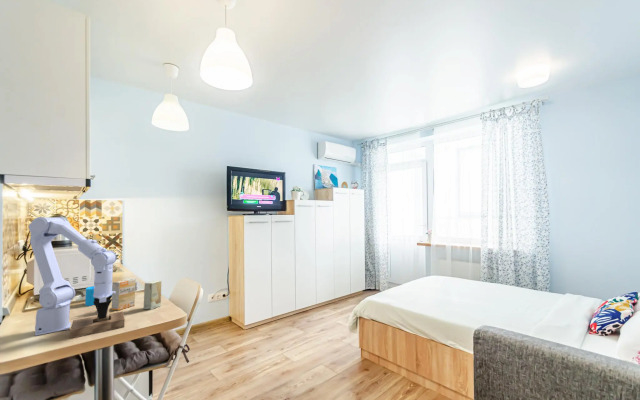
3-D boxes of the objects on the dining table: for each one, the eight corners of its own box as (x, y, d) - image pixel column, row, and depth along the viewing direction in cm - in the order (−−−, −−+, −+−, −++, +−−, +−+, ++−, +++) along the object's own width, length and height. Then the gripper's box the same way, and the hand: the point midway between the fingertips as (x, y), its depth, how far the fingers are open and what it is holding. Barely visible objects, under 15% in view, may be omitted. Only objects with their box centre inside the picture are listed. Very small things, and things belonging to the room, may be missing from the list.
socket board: (69, 338, 99) (70, 329, 99) (72, 328, 108) (73, 320, 109) (124, 327, 109) (124, 319, 109) (122, 318, 118) (123, 311, 118)
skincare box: (150, 310, 129) (151, 283, 130) (143, 309, 130) (143, 283, 131) (161, 305, 135) (161, 280, 136) (153, 305, 136) (154, 280, 137)
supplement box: (118, 311, 128) (119, 282, 129) (111, 310, 130) (112, 281, 131) (135, 305, 136) (136, 278, 137) (128, 304, 138) (129, 278, 139)
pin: (97, 325, 107) (98, 304, 108) (96, 323, 110) (97, 302, 110) (109, 323, 109) (110, 302, 110) (107, 320, 112) (108, 300, 113)
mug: (87, 307, 135) (88, 290, 136) (83, 304, 140) (83, 287, 141) (116, 300, 145) (117, 285, 145) (111, 298, 150) (111, 283, 150)
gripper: (116, 283, 107) (115, 319, 106) (115, 277, 119) (114, 309, 118) (92, 286, 103) (91, 324, 102) (94, 280, 114) (92, 313, 113)
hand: (102, 316), depth 110 cm, fingers closed on pin, 4 cm apart
